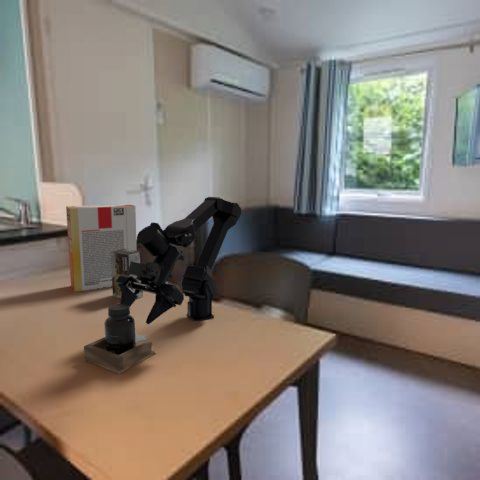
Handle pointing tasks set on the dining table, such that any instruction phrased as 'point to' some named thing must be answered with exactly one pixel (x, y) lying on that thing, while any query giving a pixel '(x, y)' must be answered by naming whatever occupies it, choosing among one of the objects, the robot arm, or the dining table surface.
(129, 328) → the supplement bottle
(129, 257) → the coffee box
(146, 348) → the walnut well
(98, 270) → the pasta box
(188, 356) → the dining table surface
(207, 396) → the dining table surface
